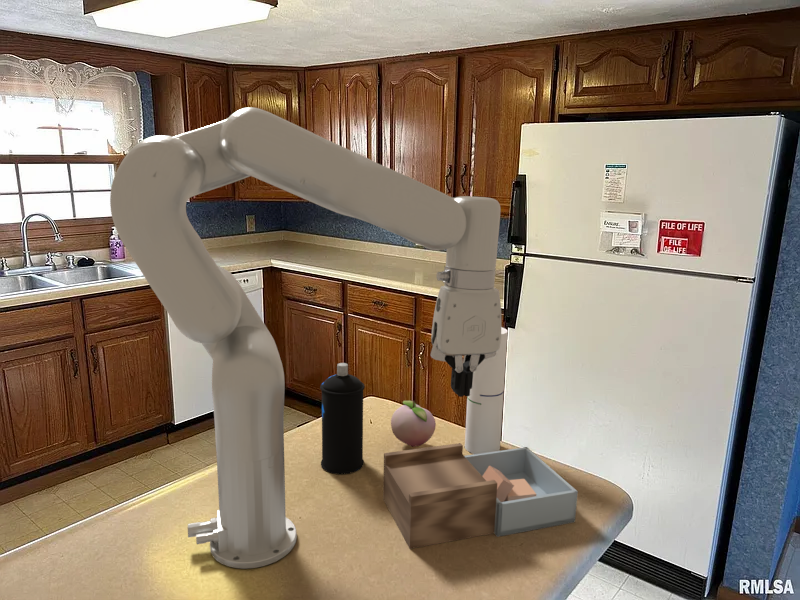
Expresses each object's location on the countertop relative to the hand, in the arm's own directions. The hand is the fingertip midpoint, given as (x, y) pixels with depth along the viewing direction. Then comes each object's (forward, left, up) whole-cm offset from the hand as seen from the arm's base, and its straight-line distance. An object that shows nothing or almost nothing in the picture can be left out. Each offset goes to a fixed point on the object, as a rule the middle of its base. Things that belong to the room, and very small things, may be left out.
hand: (460, 393), depth 93 cm
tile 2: (+11, -1, -18) cm, 21 cm away
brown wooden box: (-3, 0, -21) cm, 21 cm away
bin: (+11, 0, -21) cm, 23 cm away
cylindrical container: (+15, +20, -21) cm, 33 cm away
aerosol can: (-14, +21, -21) cm, 33 cm away
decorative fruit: (+1, +24, -21) cm, 32 cm away
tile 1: (+6, 0, -17) cm, 18 cm away
